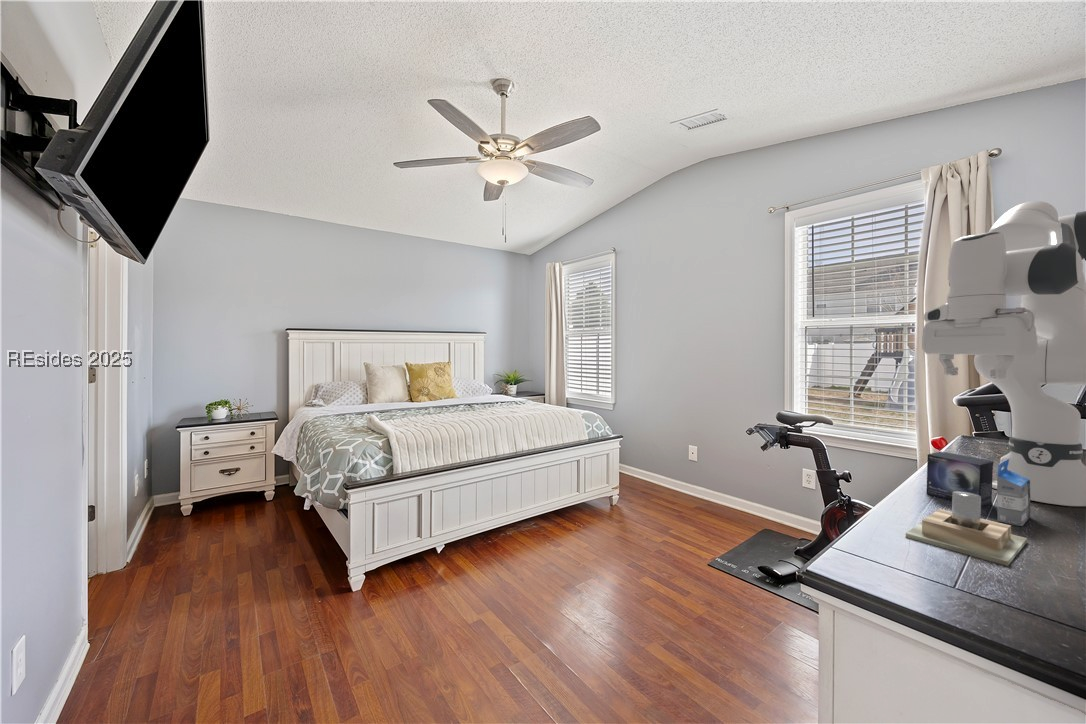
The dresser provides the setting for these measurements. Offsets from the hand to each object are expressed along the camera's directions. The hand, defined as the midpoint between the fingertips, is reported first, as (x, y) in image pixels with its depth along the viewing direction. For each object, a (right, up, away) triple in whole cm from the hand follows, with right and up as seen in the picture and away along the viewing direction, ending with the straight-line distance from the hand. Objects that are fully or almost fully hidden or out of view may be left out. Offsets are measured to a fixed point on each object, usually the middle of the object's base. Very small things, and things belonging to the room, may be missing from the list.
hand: (973, 376), depth 93 cm
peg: (-9, -31, -7) cm, 33 cm away
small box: (+11, -31, +15) cm, 36 cm away
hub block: (-9, -31, -7) cm, 33 cm away
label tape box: (+11, -31, +3) cm, 33 cm away
